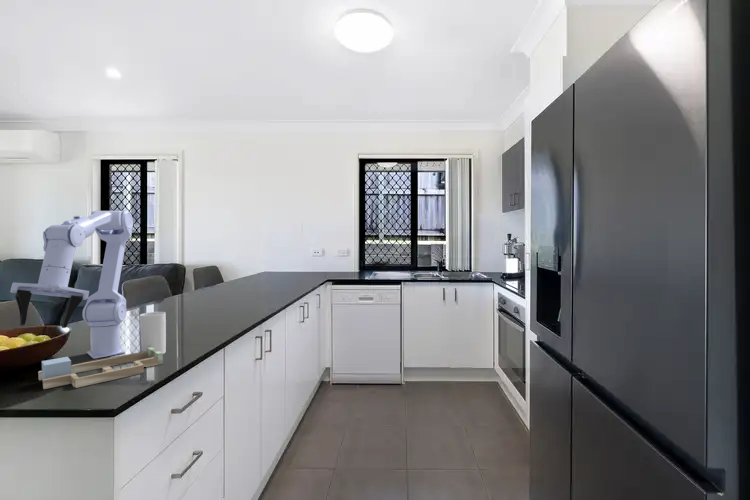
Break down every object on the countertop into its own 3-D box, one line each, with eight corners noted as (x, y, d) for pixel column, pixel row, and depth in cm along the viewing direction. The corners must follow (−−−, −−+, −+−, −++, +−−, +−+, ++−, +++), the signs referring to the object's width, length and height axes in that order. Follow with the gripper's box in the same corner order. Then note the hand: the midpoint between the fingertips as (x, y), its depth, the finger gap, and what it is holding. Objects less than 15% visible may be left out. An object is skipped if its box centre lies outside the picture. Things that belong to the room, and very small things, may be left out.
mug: (164, 355, 117) (163, 314, 117) (138, 358, 115) (137, 316, 115) (169, 347, 127) (168, 309, 127) (145, 349, 125) (144, 311, 124)
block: (42, 381, 97) (41, 361, 97) (68, 376, 100) (67, 356, 100) (45, 386, 93) (44, 365, 93) (71, 381, 97) (71, 360, 97)
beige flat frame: (38, 379, 98) (38, 367, 98) (151, 356, 116) (151, 346, 116) (46, 394, 88) (45, 381, 88) (168, 367, 106) (168, 356, 106)
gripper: (19, 260, 90) (4, 320, 86) (95, 271, 100) (85, 325, 95) (15, 268, 95) (0, 325, 90) (88, 278, 105) (78, 330, 100)
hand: (43, 326), depth 93 cm, fingers open, 7 cm apart
